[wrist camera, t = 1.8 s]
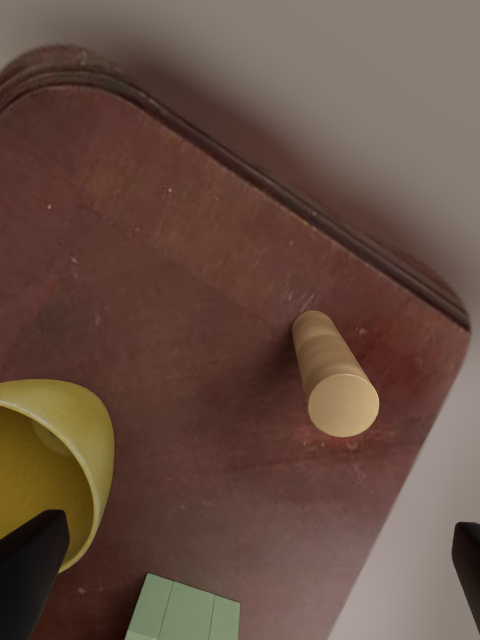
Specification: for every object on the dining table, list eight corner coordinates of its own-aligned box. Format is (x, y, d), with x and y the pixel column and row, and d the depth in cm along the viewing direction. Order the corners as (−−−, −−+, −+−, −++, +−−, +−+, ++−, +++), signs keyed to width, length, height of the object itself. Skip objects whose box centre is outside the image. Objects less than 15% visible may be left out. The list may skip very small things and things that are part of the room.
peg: (340, 318, 21) (391, 387, 12) (324, 355, 21) (362, 446, 13) (300, 304, 21) (323, 364, 12) (285, 342, 21) (297, 425, 13)
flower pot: (18, 317, 22) (-94, 360, 15) (170, 384, 23) (127, 456, 16) (-17, 446, 25) (-127, 532, 18) (119, 504, 25) (63, 610, 18)
